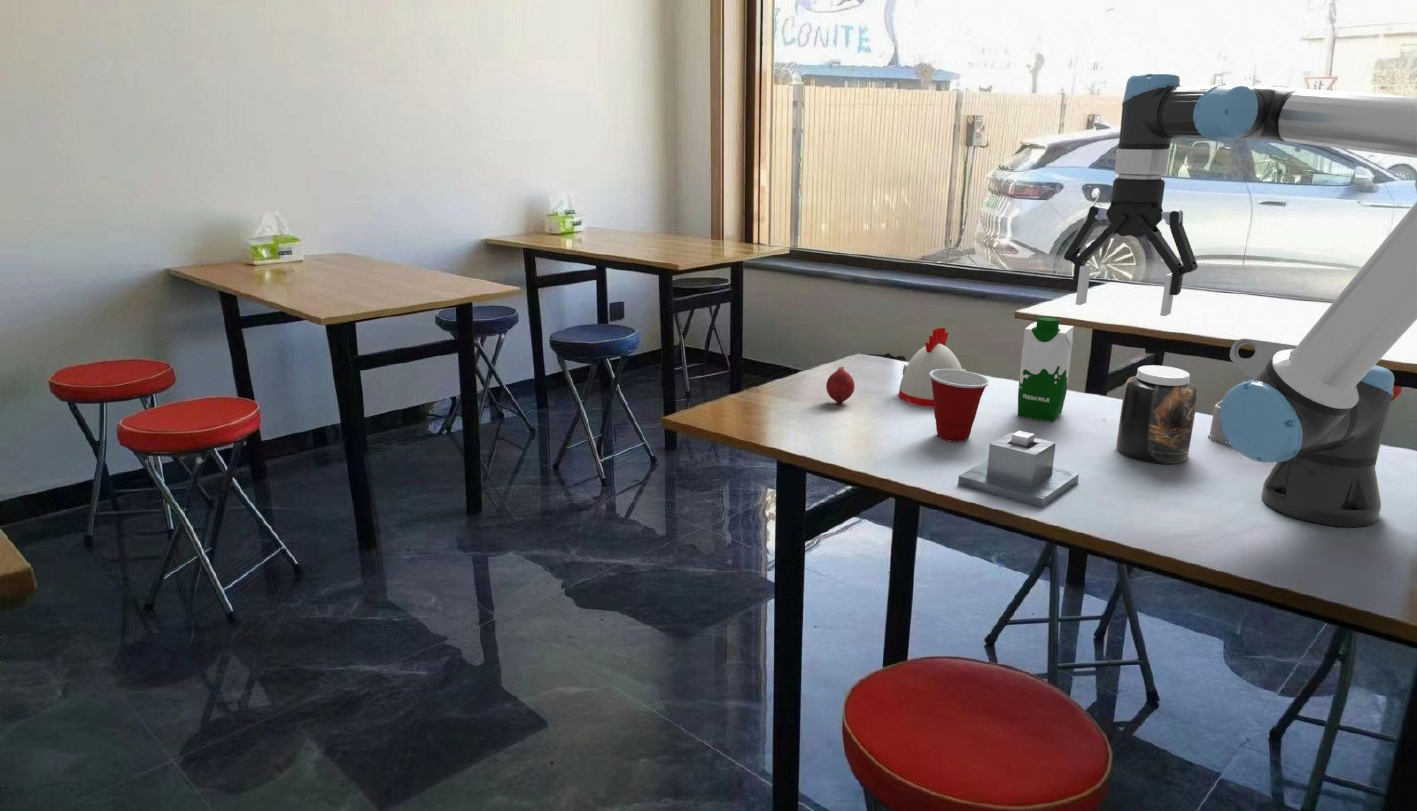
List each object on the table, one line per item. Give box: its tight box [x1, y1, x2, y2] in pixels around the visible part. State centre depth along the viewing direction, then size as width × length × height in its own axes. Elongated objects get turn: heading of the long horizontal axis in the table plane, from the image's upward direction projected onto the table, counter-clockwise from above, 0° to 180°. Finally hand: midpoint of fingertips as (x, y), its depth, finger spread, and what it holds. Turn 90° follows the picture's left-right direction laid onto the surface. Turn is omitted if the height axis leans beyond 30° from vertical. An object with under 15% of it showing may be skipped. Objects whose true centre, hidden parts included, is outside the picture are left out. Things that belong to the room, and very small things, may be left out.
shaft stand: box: [957, 430, 1080, 509], centre depth 149 cm, size 14×14×8 cm
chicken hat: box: [898, 327, 967, 408], centre depth 195 cm, size 14×14×15 cm
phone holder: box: [1207, 338, 1298, 443], centre depth 166 cm, size 17×10×18 cm, turn 46°
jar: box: [1116, 364, 1198, 465], centre depth 162 cm, size 12×12×15 cm
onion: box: [825, 365, 855, 404], centre depth 191 cm, size 6×6×8 cm
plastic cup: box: [929, 369, 991, 442], centre depth 171 cm, size 11×11×12 cm
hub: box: [987, 432, 1056, 488], centre depth 149 cm, size 8×8×6 cm
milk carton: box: [1017, 316, 1075, 423], centre depth 182 cm, size 9×9×20 cm
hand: (1121, 309), depth 152 cm, fingers open, 13 cm apart
